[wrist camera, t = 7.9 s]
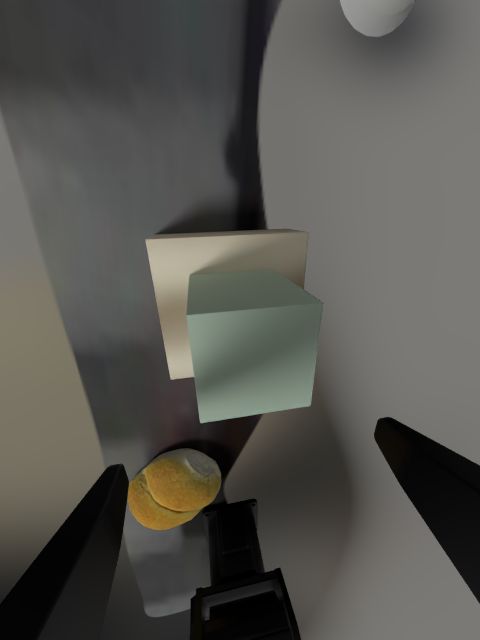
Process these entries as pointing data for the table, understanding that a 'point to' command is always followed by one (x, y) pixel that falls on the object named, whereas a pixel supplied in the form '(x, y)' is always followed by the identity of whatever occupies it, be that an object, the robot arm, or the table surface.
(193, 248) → the birch base
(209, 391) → the green block
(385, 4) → the chalice
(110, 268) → the table surface
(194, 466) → the bread roll
